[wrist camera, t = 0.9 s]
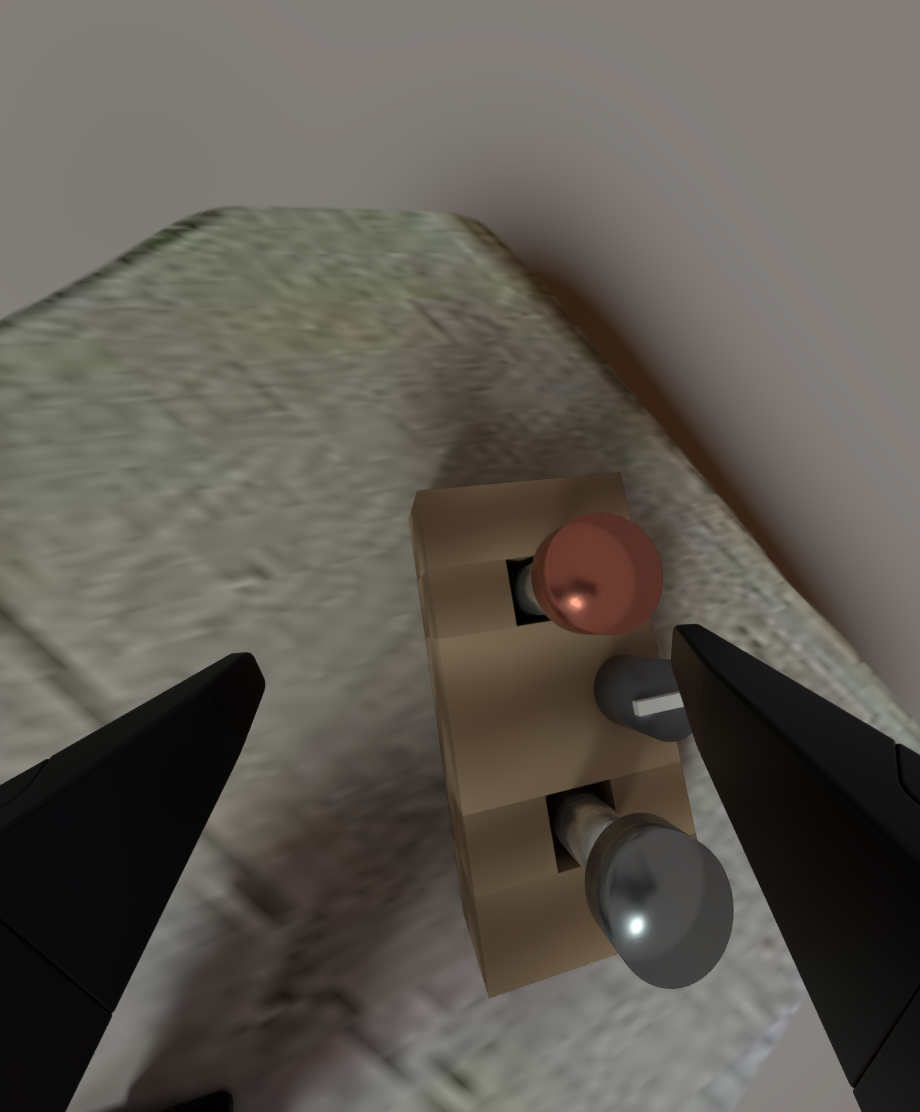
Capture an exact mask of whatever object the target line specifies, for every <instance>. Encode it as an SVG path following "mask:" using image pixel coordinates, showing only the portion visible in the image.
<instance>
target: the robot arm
mask: <svg viewBox="0 0 920 1112" xmlns="http://www.w3.org/2000/svg"><path fill="white" fill-rule="evenodd" d="M671 665H672V670H673V674H674V677H675V680H676V683H677V686H678V689H679V692H680V696H681V699H682V702H683V705H684V708H685V711H686V714H687V718H688V721H689V724H690V727H691V730H692V733H693V736H694V739H695V742H696V745H697V747H698V750H699V752H700V754H701V757H702V759H703V761H704V763H705V766H706V768H707V770H708V772H709V774H710V777H711V779H712V781H713V783H714V786H715V788H716V790H717V792H718V794H719V797H720V799H721V801H722V803H723V805H724V808H725V810H726V812H727V814H728V817H729V819H730V821H731V823H732V825H733V828H734V830H735V832H736V834H737V836H738V839H739V841H740V843H741V845H742V847H743V850H744V852H745V854H746V856H747V859H748V861H749V863H750V865H751V867H752V870H753V872H754V874H755V876H756V878H757V881H758V883H759V885H760V887H761V890H762V892H763V894H764V896H765V898H766V901H767V903H768V905H769V907H770V909H771V912H772V914H773V916H774V918H775V920H776V923H777V925H778V927H779V929H780V932H781V934H782V936H783V938H784V940H785V943H786V945H787V947H788V949H789V951H790V954H791V956H792V958H793V960H794V962H795V965H796V967H797V969H798V971H799V974H800V976H801V978H802V980H803V982H804V985H805V987H806V989H807V991H808V993H809V996H810V998H811V1000H812V1002H813V1004H814V1007H815V1009H816V1011H817V1013H818V1015H819V1018H820V1020H821V1022H822V1024H823V1026H824V1029H825V1031H826V1033H827V1035H828V1038H829V1040H830V1042H831V1044H832V1047H833V1049H834V1051H835V1053H836V1055H837V1058H838V1060H839V1062H840V1064H841V1066H842V1069H843V1071H844V1073H845V1075H846V1077H847V1080H848V1082H849V1084H850V1085H851V1087H853V1088H854V1089H853V1093H854V1096H855V1098H856V1100H857V1103H858V1105H859V1107H860V1109H861V1112H920V755H919V754H918V753H916V752H914V751H913V750H911V749H909V748H907V747H906V746H904V745H902V744H896V743H895V741H894V740H893V739H892V738H890V737H889V736H887V735H885V734H883V733H882V732H880V731H878V730H877V729H875V728H873V727H872V726H870V725H868V724H867V723H865V722H863V721H861V720H860V719H858V718H856V717H855V716H853V715H851V714H850V713H848V712H846V711H845V710H843V709H841V708H839V707H838V706H836V705H834V704H833V703H831V702H829V701H828V700H826V699H824V698H823V697H821V696H819V695H817V694H816V693H814V692H812V691H811V690H809V689H807V688H806V687H804V686H802V685H801V684H799V683H797V682H795V681H794V680H792V679H790V678H789V677H787V676H785V675H784V674H782V673H780V672H779V671H777V670H775V669H773V668H772V667H770V666H768V665H767V664H765V663H763V662H762V661H760V660H758V659H757V658H755V657H753V656H752V655H750V654H748V653H746V652H745V651H743V650H741V649H740V648H738V647H736V646H735V645H733V644H731V643H730V642H728V641H726V640H724V639H723V638H721V637H719V636H718V635H716V634H714V633H713V632H711V631H709V630H708V629H706V628H704V627H702V626H701V625H698V624H684V625H676V626H675V627H674V629H673V636H672V651H671ZM264 690H265V679H264V677H263V675H262V672H261V670H260V668H259V666H258V664H257V662H256V660H255V658H254V656H253V655H252V654H251V653H248V652H242V653H232V654H230V655H228V656H226V657H224V658H223V659H221V660H219V661H217V662H216V663H214V664H212V665H210V666H209V667H207V668H205V669H203V670H202V671H200V672H198V673H196V674H195V675H193V676H191V677H189V678H188V679H186V680H184V681H182V682H181V683H179V684H177V685H175V686H174V687H172V688H170V689H168V690H167V691H165V692H163V693H161V694H160V695H158V696H156V697H154V698H153V699H151V700H149V701H147V702H146V703H144V704H142V705H140V706H139V707H137V708H135V709H133V710H132V711H130V712H128V713H126V714H125V715H123V716H121V717H119V718H118V719H116V720H114V721H112V722H111V723H109V724H107V725H105V726H104V727H102V728H100V729H98V730H97V731H95V732H93V733H91V734H90V735H88V736H86V737H84V738H83V739H81V740H79V741H77V742H76V743H74V744H72V745H70V746H69V747H67V748H65V749H63V750H62V751H60V752H58V753H56V754H55V755H53V756H52V757H51V758H50V759H46V760H44V761H42V762H40V763H39V764H37V765H35V766H33V767H32V768H30V769H28V770H26V771H25V772H23V773H21V774H19V775H17V776H16V777H14V778H12V779H10V780H9V781H7V782H5V783H3V784H1V785H0V1112H66V1110H67V1108H68V1106H69V1104H70V1101H71V1099H72V1097H73V1095H74V1093H75V1091H76V1089H77V1087H78V1085H79V1083H80V1081H81V1079H82V1077H83V1075H84V1073H85V1071H86V1069H87V1067H88V1065H89V1063H90V1061H91V1059H92V1057H93V1054H94V1052H95V1050H96V1048H97V1046H98V1044H99V1042H100V1040H101V1038H102V1036H103V1034H104V1032H105V1030H106V1028H107V1026H108V1024H109V1022H110V1020H111V1018H112V1014H111V1013H113V1012H114V1011H115V1009H116V1007H117V1005H118V1003H119V1001H120V999H121V996H122V994H123V992H124V990H125V988H126V986H127V984H128V982H129V980H130V978H131V976H132V974H133V972H134V970H135V968H136V966H137V964H138V962H139V960H140V958H141V956H142V954H143V952H144V950H145V947H146V945H147V943H148V941H149V939H150V937H151V935H152V933H153V931H154V929H155V927H156V925H157V923H158V921H159V919H160V917H161V915H162V913H163V911H164V909H165V907H166V905H167V903H168V901H169V899H170V896H171V894H172V892H173V890H174V888H175V886H176V884H177V882H178V880H179V878H180V876H181V874H182V872H183V870H184V868H185V866H186V864H187V862H188V860H189V858H190V856H191V854H192V852H193V850H194V848H195V845H196V843H197V841H198V839H199V837H200V835H201V833H202V831H203V829H204V827H205V825H206V823H207V821H208V819H209V817H210V815H211V813H212V811H213V809H214V807H215V805H216V803H217V801H218V799H219V797H220V794H221V792H222V790H223V788H224V786H225V784H226V782H227V780H228V778H229V776H230V774H231V772H232V770H233V768H234V766H235V764H236V762H237V760H238V757H239V755H240V753H241V751H242V748H243V746H244V743H245V741H246V738H247V735H248V733H249V730H250V727H251V725H252V722H253V720H254V717H255V714H256V712H257V709H258V706H259V704H260V701H261V699H262V696H263V693H264ZM215 1108H220V1109H222V1111H221V1112H233V1100H232V1097H231V1095H230V1094H229V1093H228V1092H226V1091H218V1092H215V1093H212V1094H209V1095H206V1096H204V1097H201V1098H198V1099H195V1100H192V1101H189V1102H186V1103H183V1104H180V1105H177V1106H175V1107H172V1108H169V1109H166V1110H163V1111H160V1112H216V1111H214V1109H215Z"/></svg>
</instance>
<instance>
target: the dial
mask: <svg viewBox="0 0 920 1112" xmlns="http://www.w3.org/2000/svg"><path fill="white" fill-rule="evenodd" d="M594 696H595V700H596V703H597V705H598V707H599V709H600V710H601V712H602V713H603V714H604V715H605V716H606V717H607V718H608V719H610V720H611V721H613V722H615V723H617V724H620V725H622V726H625V727H627V728H630V729H632V730H635V731H637V732H640V733H642V734H645V735H647V736H650V737H653V738H655V739H658V740H660V741H664V742H676V741H680V740H682V739H684V738H686V737H688V736H689V735H690V734H691V733H692V730H691V727H690V724H689V721H688V718H687V714H686V711H685V708H684V705H683V702H682V699H681V696H680V692H679V689H678V686H677V683H676V680H675V677H674V674H673V670H672V665H671V660H664V659H655V658H646V657H637V656H628V655H619V656H615V657H612V658H610V659H609V660H607V661H606V662H605V663H604V664H603V665H602V666H601V667H600V669H599V670H598V672H597V675H596V677H595V681H594Z"/></svg>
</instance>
